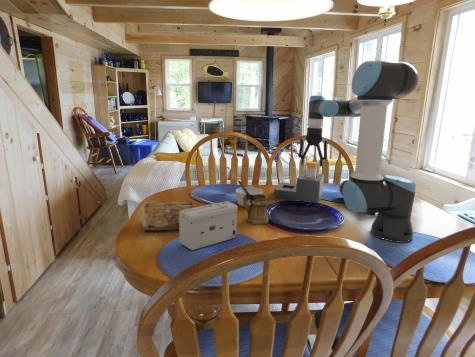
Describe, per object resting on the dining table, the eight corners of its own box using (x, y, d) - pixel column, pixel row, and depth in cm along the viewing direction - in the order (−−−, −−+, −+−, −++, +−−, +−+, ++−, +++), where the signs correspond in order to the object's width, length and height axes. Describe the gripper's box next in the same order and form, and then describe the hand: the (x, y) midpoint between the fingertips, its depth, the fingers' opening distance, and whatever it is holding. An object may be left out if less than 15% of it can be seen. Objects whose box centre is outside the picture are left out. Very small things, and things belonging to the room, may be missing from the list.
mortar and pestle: (236, 217, 146) (237, 177, 141) (266, 217, 146) (268, 177, 142) (237, 224, 137) (238, 182, 133) (269, 224, 138) (271, 183, 133)
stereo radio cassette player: (226, 231, 130) (227, 182, 125) (239, 238, 124) (240, 187, 119) (178, 244, 118) (177, 190, 113) (189, 253, 111) (189, 196, 106)
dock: (318, 204, 166) (320, 181, 163) (273, 198, 173) (274, 176, 170) (322, 195, 180) (324, 174, 177) (280, 190, 188) (282, 170, 185)
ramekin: (260, 200, 171) (260, 187, 169) (263, 208, 158) (264, 194, 156) (234, 199, 170) (235, 186, 168) (236, 208, 157) (236, 194, 155)
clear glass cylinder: (314, 182, 170) (315, 163, 167) (305, 181, 171) (306, 162, 169) (315, 180, 174) (317, 162, 171) (306, 179, 175) (308, 161, 173)
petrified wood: (191, 218, 142) (192, 198, 138) (193, 236, 130) (194, 215, 126) (144, 219, 138) (144, 198, 134) (142, 237, 127) (141, 215, 122)
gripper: (335, 127, 166) (331, 172, 171) (296, 125, 172) (293, 168, 178) (334, 129, 159) (330, 175, 164) (293, 126, 166) (290, 171, 171)
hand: (311, 171), depth 171 cm, fingers open, 7 cm apart
